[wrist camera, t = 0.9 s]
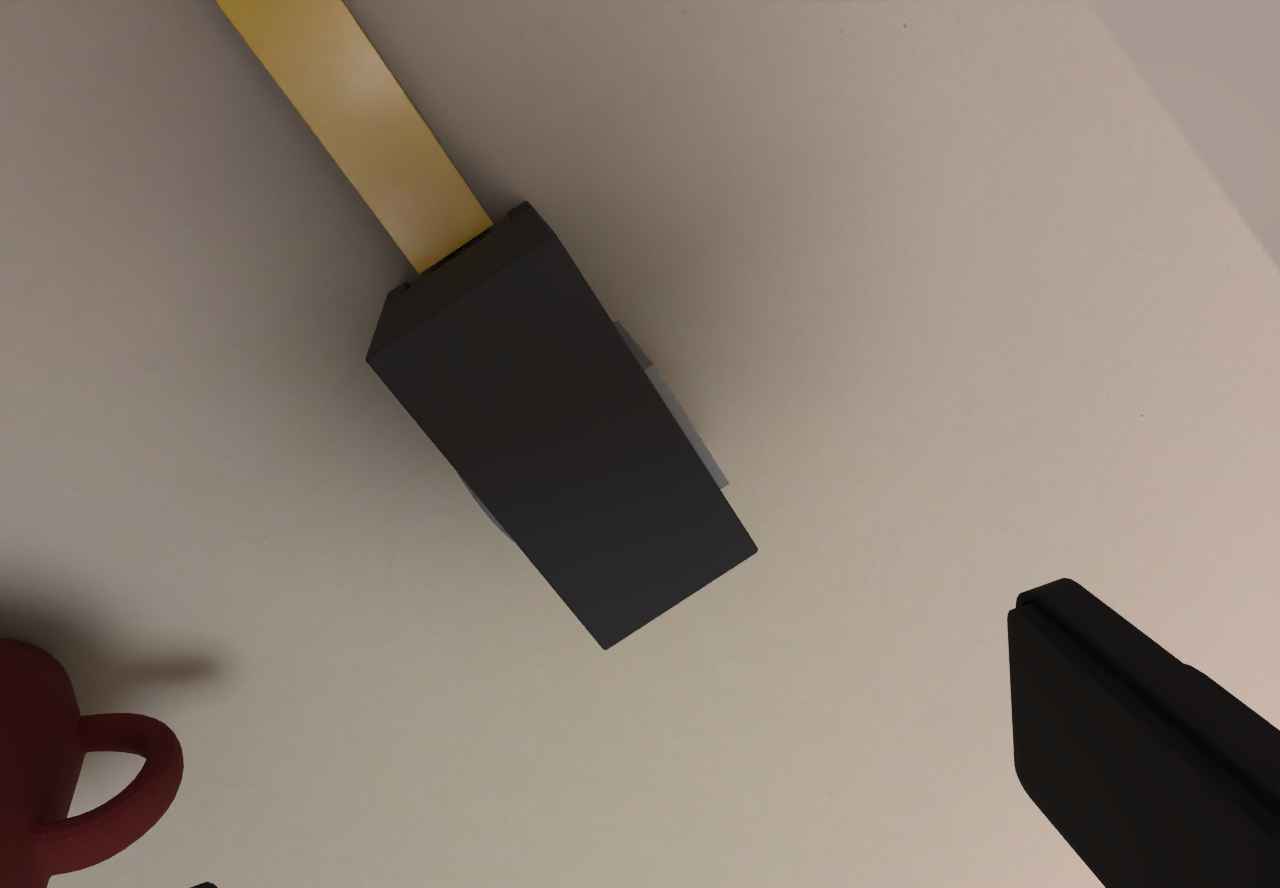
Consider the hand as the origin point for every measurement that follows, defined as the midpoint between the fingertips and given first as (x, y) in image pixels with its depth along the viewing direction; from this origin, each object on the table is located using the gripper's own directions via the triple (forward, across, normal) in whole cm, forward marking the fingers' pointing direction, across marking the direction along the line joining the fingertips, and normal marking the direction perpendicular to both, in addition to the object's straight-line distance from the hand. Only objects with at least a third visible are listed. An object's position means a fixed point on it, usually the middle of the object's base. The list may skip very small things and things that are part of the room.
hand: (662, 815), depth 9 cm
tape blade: (+18, +2, -8) cm, 20 cm away
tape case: (+18, -1, +1) cm, 18 cm away
